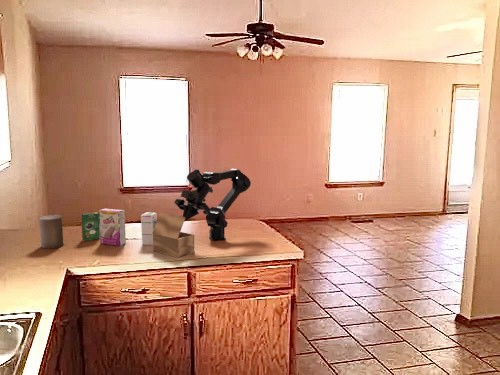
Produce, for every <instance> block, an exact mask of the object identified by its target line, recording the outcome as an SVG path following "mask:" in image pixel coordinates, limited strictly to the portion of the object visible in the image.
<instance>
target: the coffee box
mask: <svg viewBox="0 0 500 375" xmlns="http://www.w3.org/2000/svg"><path fill="white" fill-rule="evenodd" d="M81 238H82V241H83V242H88V241H94V240H100V221H99V212H96V211H95V212H89V213H81Z"/></svg>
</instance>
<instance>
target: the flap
mask: <svg viewBox="0 0 500 375" xmlns="http://www.w3.org/2000/svg"><path fill="white" fill-rule="evenodd" d="M185 218H186V217H183V215H182V216H180V215H177V214H176V215H175V214H170V213H165V212H161V211H160V212H159V215H158V216H157V222H156V225H155V227H154V230H153V232H152V233H153V234H157V235H161V236H165V237H170V238H174V239H178V236H179V234H180V232H182V231H181V230H182V228H183V225H184V224H185V222H186V221H185ZM184 221H185V222H184Z"/></svg>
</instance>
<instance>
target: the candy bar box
mask: <svg viewBox="0 0 500 375" xmlns="http://www.w3.org/2000/svg"><path fill="white" fill-rule="evenodd" d="M125 212H126V211H125V209H116V208H115V209H114V208H113V209H112V208H102V209H99V210H98V213H99V229H100V239H99V242H100V245H108V246H115V247H116V246H117V247H122V246H124V245H126V243H127V242H126V241H127V240H126V239H127V238H126V237H127V236H126V214H125Z"/></svg>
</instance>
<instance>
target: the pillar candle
mask: <svg viewBox="0 0 500 375" xmlns="http://www.w3.org/2000/svg"><path fill="white" fill-rule="evenodd" d="M39 227H40V228H39V230H40V231H39V232H40V246H41V248H42V249H57V248H61V247H63V246H64V233H63V217H62V215H60V214H51V213H50V215H44V216H40V217H39Z"/></svg>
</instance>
